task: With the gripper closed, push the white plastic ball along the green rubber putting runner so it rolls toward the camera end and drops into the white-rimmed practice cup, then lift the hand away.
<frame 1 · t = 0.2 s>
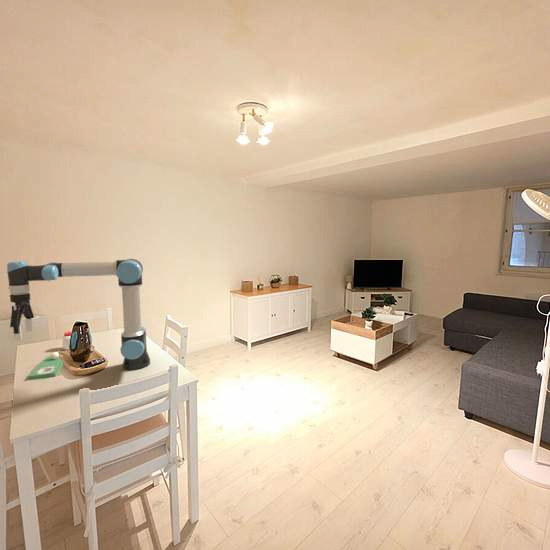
hand: (24, 335, 149), 28 cm above the table, fingers open, 13 cm apart
runner: (50, 367, 177), on the table
ball: (54, 355, 184), point 4 cm above the table, touching runner
pill bottle: (70, 348, 207), on the table
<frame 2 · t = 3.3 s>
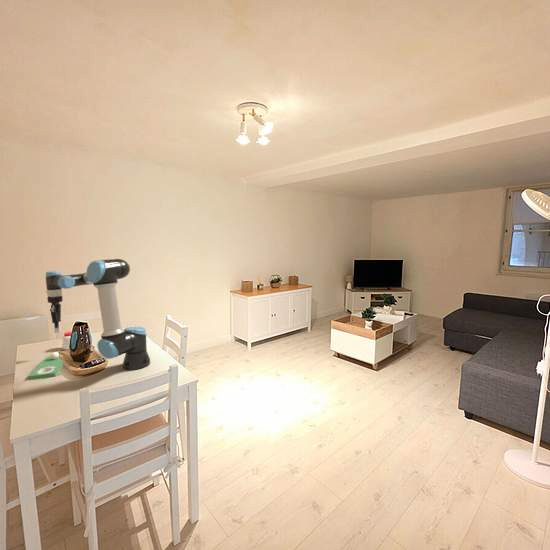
hand: (57, 332, 191), 16 cm above the table, fingers closed
nothing on the table moved.
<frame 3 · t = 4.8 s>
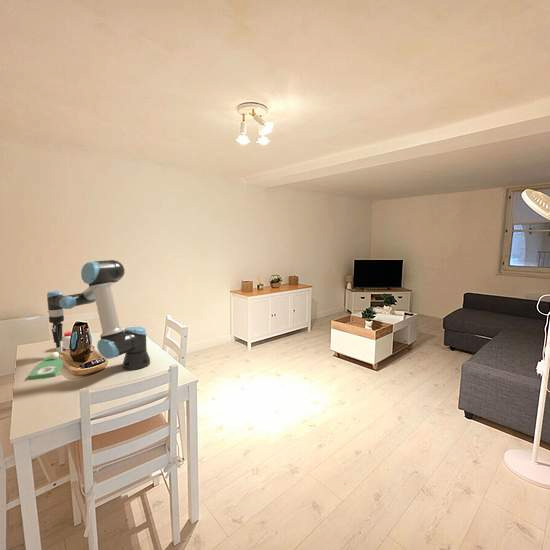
hand: (59, 351, 192), 4 cm above the table, fingers closed
nothing on the table moved.
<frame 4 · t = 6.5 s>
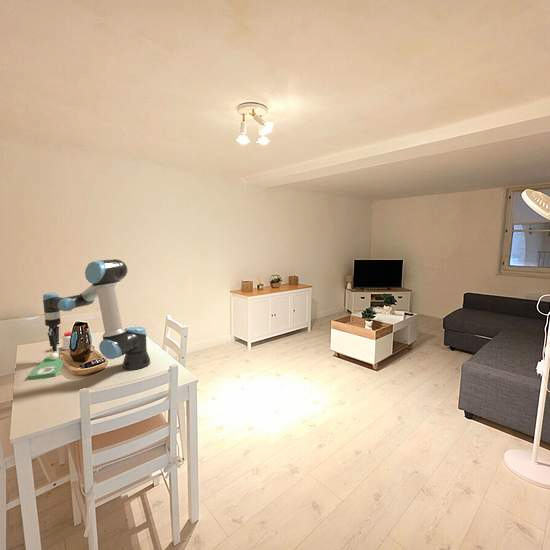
hand: (55, 355, 185), 4 cm above the table, fingers closed
ball: (54, 356, 183), point 4 cm above the table, tilted 28°, touching gripper, runner
everything else where it was.
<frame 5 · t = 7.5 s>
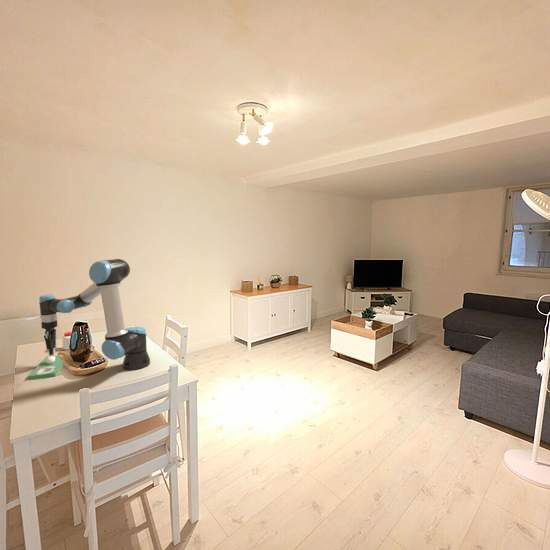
hand: (52, 359, 180), 4 cm above the table, fingers closed
ball: (50, 360, 177), point 4 cm above the table, tilted 153°, touching gripper, runner
everything else where it was.
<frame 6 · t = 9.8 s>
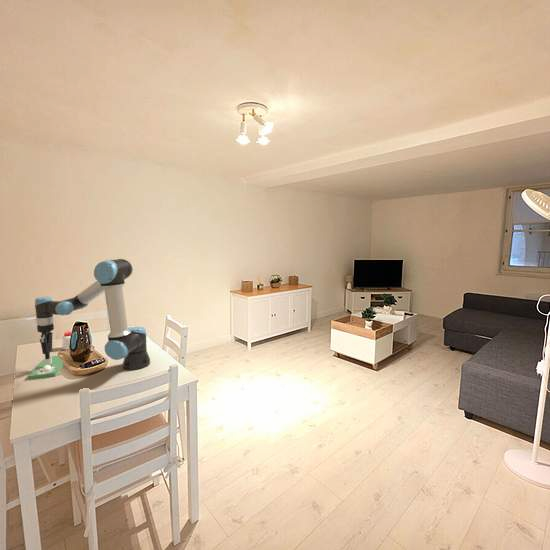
hand: (48, 363, 174), 4 cm above the table, fingers closed
ball: (46, 369, 170), point 2 cm above the table, tilted 20°
everything else where it was.
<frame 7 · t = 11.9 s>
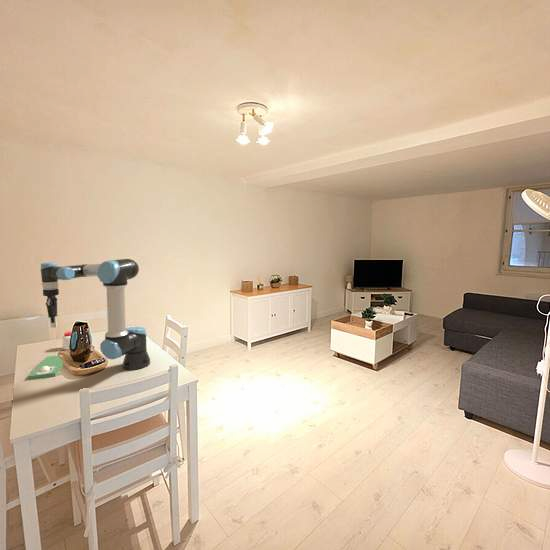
hand: (54, 327, 181), 22 cm above the table, fingers closed
ball: (45, 369, 169), point 2 cm above the table, tilted 44°
everything else where it was.
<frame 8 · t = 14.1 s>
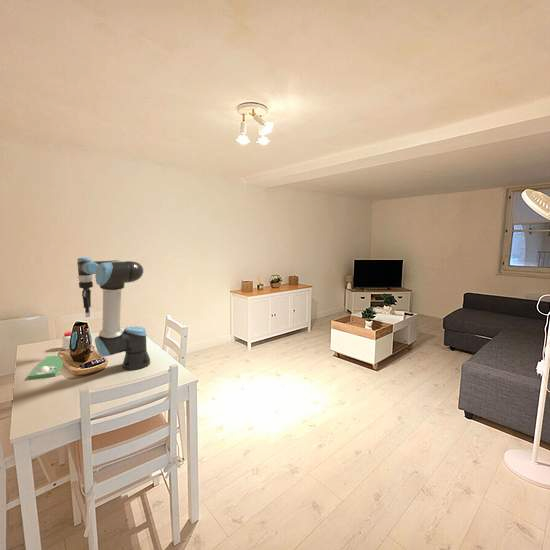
hand: (88, 317, 196), 24 cm above the table, fingers closed
nothing on the table moved.
at the end: ball 0.6 cm from the target spot in the runner, point 2.2 cm above the runner's base; the gripper is holding nothing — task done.
